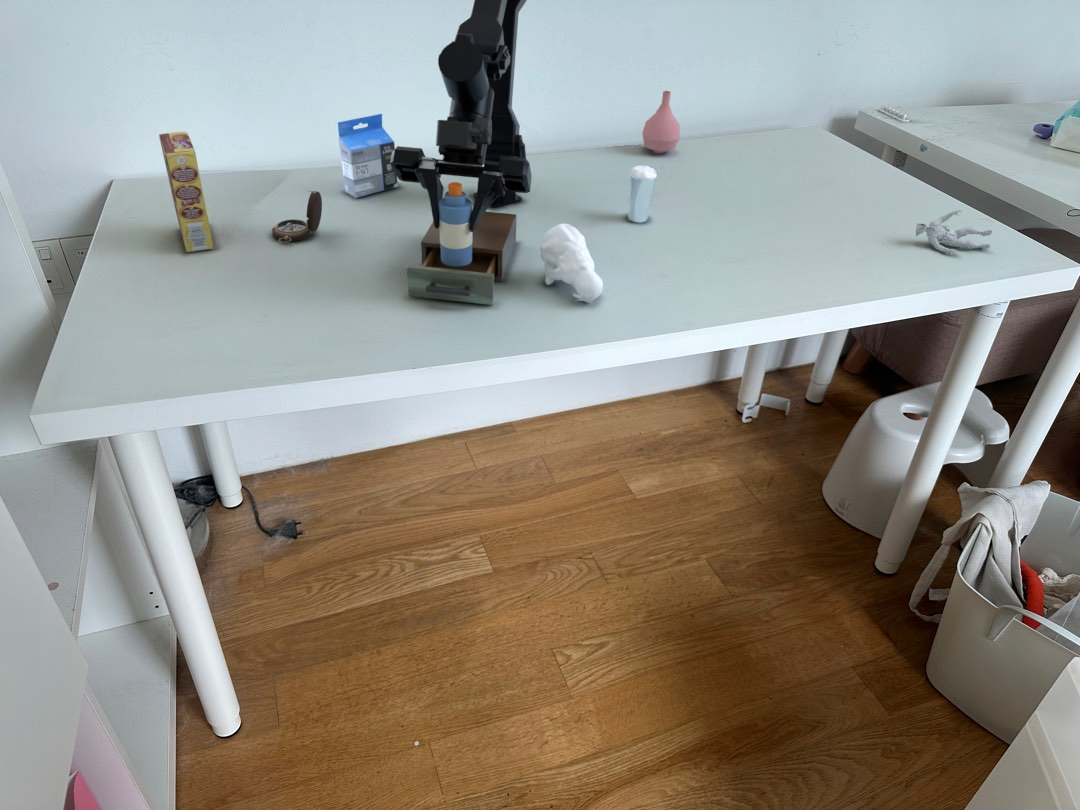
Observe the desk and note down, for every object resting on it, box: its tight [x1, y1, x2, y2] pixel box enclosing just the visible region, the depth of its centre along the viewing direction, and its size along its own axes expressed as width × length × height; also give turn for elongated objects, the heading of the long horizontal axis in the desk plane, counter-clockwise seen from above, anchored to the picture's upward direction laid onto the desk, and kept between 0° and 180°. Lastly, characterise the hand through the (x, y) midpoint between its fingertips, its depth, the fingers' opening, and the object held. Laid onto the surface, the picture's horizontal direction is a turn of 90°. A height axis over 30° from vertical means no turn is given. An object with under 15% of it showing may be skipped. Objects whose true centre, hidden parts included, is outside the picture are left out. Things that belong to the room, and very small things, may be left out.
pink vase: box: [642, 90, 681, 155], centre depth 161 cm, size 8×8×12 cm
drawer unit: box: [420, 211, 517, 282], centre depth 121 cm, size 13×12×5 cm
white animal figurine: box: [539, 223, 604, 304], centre depth 113 cm, size 6×8×12 cm
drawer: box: [406, 248, 498, 306], centre depth 114 cm, size 15×12×4 cm
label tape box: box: [337, 113, 399, 199], centre depth 138 cm, size 9×4×12 cm, turn 131°
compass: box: [271, 190, 323, 244], centre depth 123 cm, size 8×8×7 cm
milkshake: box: [627, 164, 664, 224], centre depth 134 cm, size 4×5×10 cm
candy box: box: [158, 131, 214, 253], centre depth 118 cm, size 9×4×15 cm, turn 26°
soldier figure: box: [915, 209, 993, 255], centre depth 132 cm, size 8×5×12 cm
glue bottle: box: [439, 181, 473, 267], centre depth 108 cm, size 4×4×11 cm
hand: (453, 229), depth 107 cm, fingers closed on glue bottle, 4 cm apart
